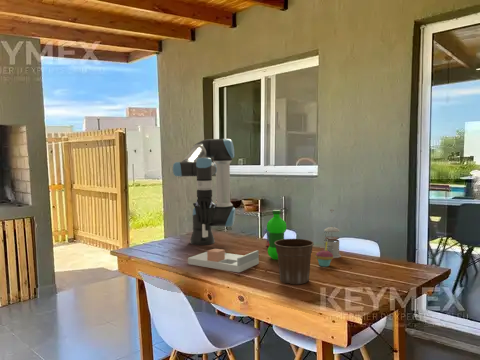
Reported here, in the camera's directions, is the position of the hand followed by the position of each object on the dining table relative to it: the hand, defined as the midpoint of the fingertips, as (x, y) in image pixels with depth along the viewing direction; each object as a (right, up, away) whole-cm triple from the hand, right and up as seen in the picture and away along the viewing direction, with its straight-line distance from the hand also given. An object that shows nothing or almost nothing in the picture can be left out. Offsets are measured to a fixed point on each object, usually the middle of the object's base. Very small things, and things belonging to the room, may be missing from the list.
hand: (205, 236), depth 187 cm
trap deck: (+9, -13, 0) cm, 16 cm away
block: (+6, -11, -4) cm, 12 cm away
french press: (+66, -12, +15) cm, 68 cm away
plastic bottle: (+36, -13, +10) cm, 40 cm away
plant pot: (+40, -14, -28) cm, 51 cm away
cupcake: (+58, -13, -5) cm, 60 cm away
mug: (+38, -12, +39) cm, 55 cm away
